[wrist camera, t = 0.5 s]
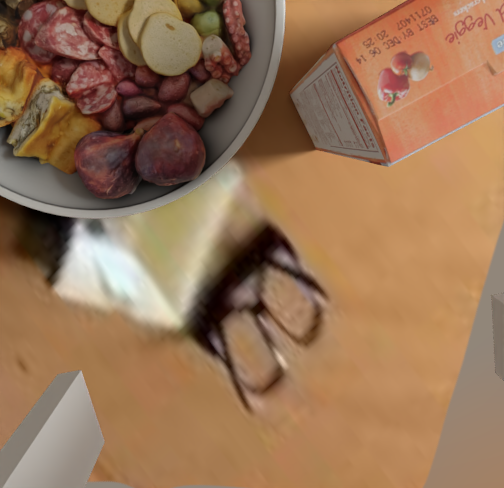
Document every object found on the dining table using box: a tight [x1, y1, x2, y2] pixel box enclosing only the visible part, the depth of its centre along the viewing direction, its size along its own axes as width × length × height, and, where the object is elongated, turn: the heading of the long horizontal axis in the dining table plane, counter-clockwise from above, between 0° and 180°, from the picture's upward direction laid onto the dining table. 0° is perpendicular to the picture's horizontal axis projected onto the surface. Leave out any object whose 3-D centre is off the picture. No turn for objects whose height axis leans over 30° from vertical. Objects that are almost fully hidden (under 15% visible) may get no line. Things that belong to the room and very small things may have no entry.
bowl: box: [0, 0, 285, 219], centre depth 32 cm, size 30×30×8 cm
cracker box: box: [289, 0, 504, 167], centre depth 27 cm, size 14×6×21 cm, turn 118°
